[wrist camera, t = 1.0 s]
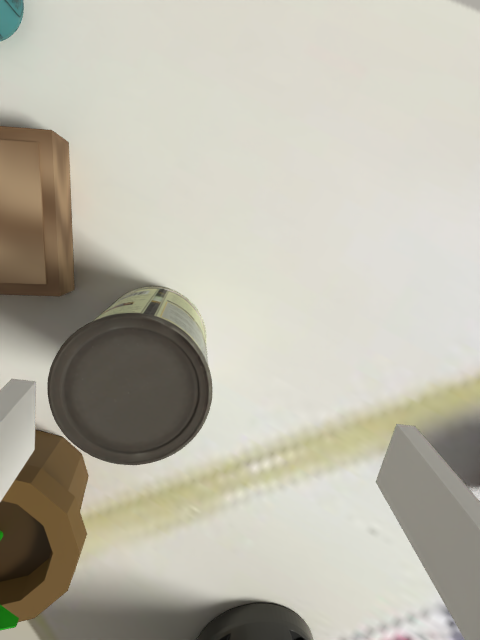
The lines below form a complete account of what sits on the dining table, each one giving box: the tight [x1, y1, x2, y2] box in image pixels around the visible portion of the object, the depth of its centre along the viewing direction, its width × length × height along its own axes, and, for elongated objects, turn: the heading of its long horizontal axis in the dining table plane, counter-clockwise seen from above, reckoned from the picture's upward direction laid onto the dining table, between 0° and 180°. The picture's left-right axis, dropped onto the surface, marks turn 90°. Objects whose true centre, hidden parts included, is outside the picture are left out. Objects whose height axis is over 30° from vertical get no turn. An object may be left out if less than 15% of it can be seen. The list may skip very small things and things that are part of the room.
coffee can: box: [48, 286, 212, 465], centre depth 32 cm, size 10×10×14 cm
